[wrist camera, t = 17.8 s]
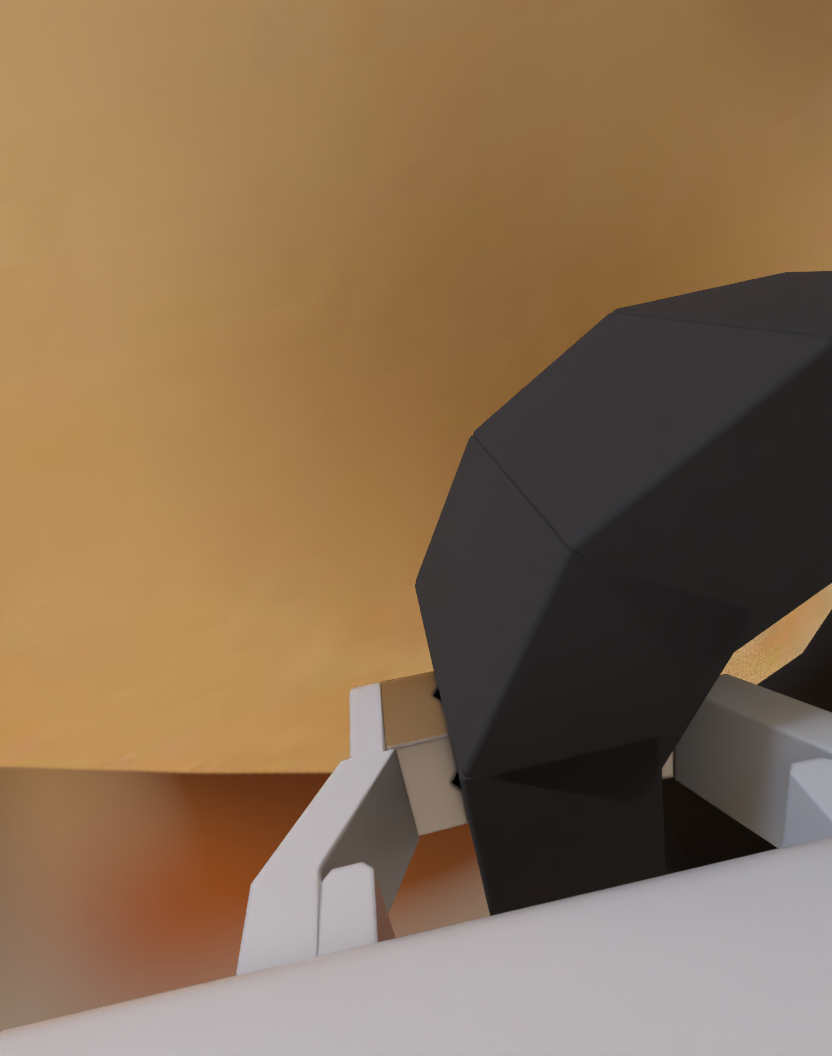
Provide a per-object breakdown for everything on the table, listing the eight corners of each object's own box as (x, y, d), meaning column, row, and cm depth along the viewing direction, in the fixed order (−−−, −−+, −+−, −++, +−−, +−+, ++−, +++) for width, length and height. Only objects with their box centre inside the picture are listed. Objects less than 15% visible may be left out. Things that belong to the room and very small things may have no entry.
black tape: (365, 363, 9) (384, 433, 5) (1023, 219, 10) (1582, 169, 5) (471, 839, 14) (530, 1095, 10) (920, 730, 14) (1177, 931, 10)
